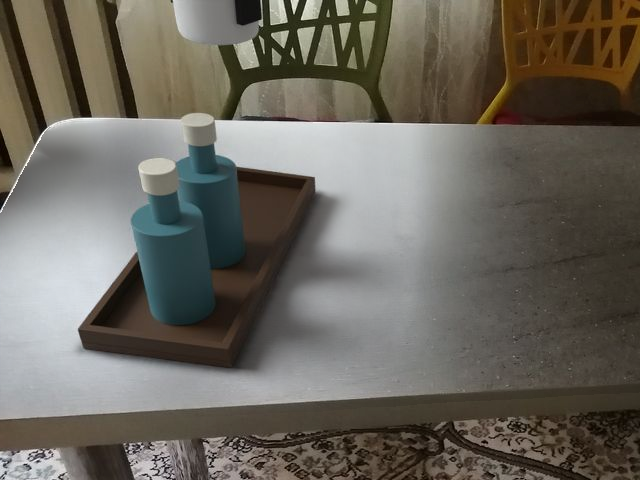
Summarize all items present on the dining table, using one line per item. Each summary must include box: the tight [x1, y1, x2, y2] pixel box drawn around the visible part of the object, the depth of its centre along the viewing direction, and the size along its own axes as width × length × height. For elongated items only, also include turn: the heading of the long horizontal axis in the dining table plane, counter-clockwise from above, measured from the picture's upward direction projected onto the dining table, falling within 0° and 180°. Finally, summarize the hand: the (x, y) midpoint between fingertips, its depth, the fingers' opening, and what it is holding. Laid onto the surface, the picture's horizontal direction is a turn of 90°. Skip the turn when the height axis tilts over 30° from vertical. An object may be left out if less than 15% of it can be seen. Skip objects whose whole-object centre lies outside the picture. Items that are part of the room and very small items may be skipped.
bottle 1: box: [130, 157, 216, 325], centre depth 68 cm, size 6×6×15 cm
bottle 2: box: [175, 112, 245, 269], centre depth 75 cm, size 6×6×15 cm
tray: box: [77, 166, 316, 369], centre depth 79 cm, size 33×14×2 cm, turn 175°
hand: (216, 10), depth 74 cm, fingers closed on pill bottle, 8 cm apart
